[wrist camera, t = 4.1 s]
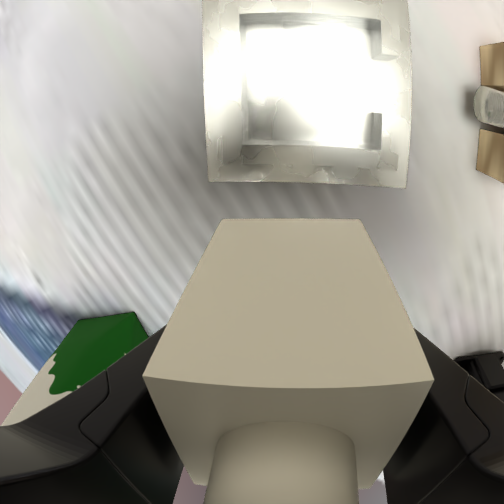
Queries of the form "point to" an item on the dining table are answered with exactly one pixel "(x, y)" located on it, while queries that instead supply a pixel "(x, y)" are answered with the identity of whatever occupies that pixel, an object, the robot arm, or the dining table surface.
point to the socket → (307, 91)
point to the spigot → (288, 364)
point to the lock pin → (489, 106)
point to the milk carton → (79, 361)
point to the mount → (490, 143)
